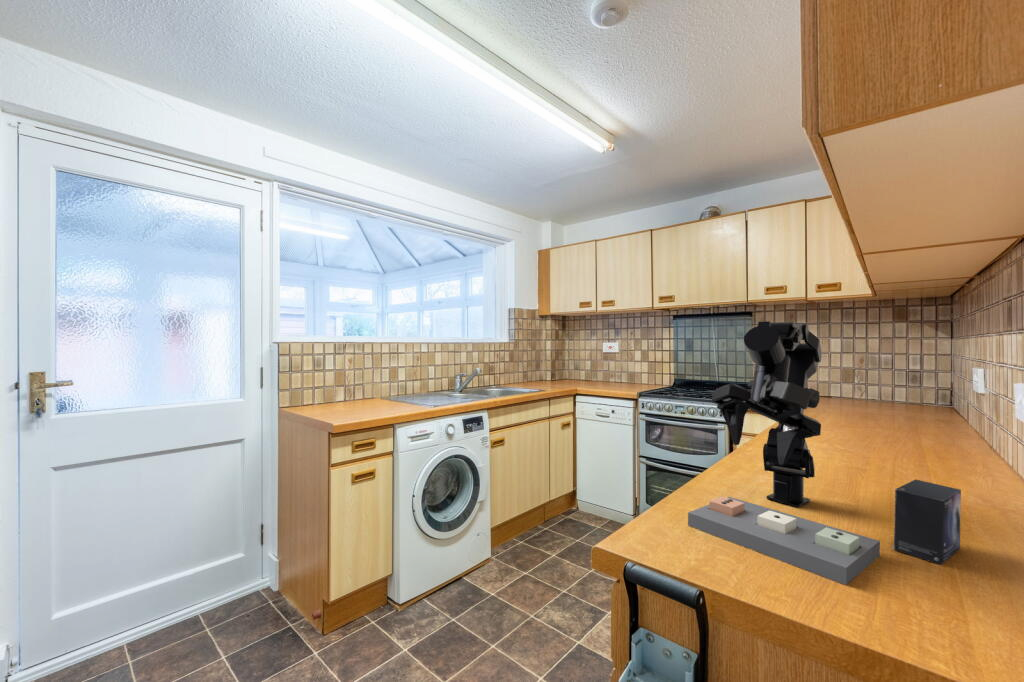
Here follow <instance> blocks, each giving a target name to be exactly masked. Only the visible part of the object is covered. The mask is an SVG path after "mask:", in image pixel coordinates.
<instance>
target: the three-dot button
mask: <svg viewBox="0 0 1024 682" xmlns="http://www.w3.org/2000/svg"><path fill="white" fill-rule="evenodd" d="M708 505H709V509H710V510H713V511H717V512H720V513H723V514H726V515H729V516H732V517H734V516H736V515H739V514H741V513H743V512H744V503H743V502H739V501H736V500H733V499H729V498H727V497H726V496H718V497H717V498H713V499H711V500H709V504H708Z"/></svg>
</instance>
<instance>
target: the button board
mask: <svg viewBox="0 0 1024 682" xmlns="http://www.w3.org/2000/svg"><path fill="white" fill-rule="evenodd" d="M726 498H729V499H733V500H736V501H739V502H743V503H744V512H743V513H741V514H739V515H736V516H734V517H732V516H729V515H726V514H723V513H720V512H717V511H713V510H710V509H709V504H707V505H704V506H701V507H699V508H696V509H693V510H690V511H689V512H687V527H691V528H693V529H696V530H698V531H701V532H704V533H706V532H707V534H709V535H712V536H715V537H717V536H718V537H717V538H719V539H723V540H725V541H727V540H728V541H727V542H730V541H731V542H730V543H733V542H734V543H733V544H735V543H736V545H739V546H742V547H743V546H744V547H743V548H746V547H747V548H746V549H749V550H751V549H752V551H754V550H755V551H754V552H757V553H759V552H760V554H762V555H765V556H768V557H771V558H773V559H775V560H778V561H781V562H783V563H786V564H789V565H792V566H794V567H797V568H800V569H802V570H804V571H807V572H809V573H813V574H815V575H818V576H820V577H823V578H825V579H828V580H831V581H834V582H836V583H839V584H842V585H845V586H847V585H848V584H849V583H851V582H852V581H853V580H854V579H855V578H856V577H857V576H858V575H860V574H861V573H862V572H863V571H865V570H866V569H867V568H868V567H869V566H870V565H871V564H872V563H874V562H875V561H876V560H877V559H878V558H880V556H881V553H880V552H881V549H880V548H881V547H880V546H881V545H880V544H881V543H880V542H881V541H880V540H877V539H875V538H871V537H869V536H865V535H863V534H862V535H861V534H859V533H858V534H857V533H855V532H851V531H848V530H844V529H841V528H838V527H835V526H831V525H827V524H824V523H820V522H818V521H817V522H816V521H814V520H810V519H806V518H803V517H800V516H797V515H792V514H789V513H786V512H783V511H779V510H777V509H772V508H768V507H765V506H762V505H759V504H755V503H751V502H748V501H746V500H745V501H744V500H742V499H738V498H735V497H733V496H728V497H726ZM769 510H770V511H773V512H777V513H780V514H783V515H787V516H790V517H793V518H796V529H795V530H793V531H791V532H789V533H788V534H783V533H780V532H777V531H774V530H771V529H768V528H765V527H762V526H759V525H757V516H758V515H760V514H763V513H765V512H767V511H769ZM826 527H827V528H830V529H834V530H837V531H841V532H844V533H847V534H851V535H854V536H857V537H859V550H857V551H856V552H855V553H853V554H852V555H851V556H850V555H847V554H844V553H841V552H838V551H835V550H832V549H829V548H826V547H823V546H820V545H817V544H815V534H816V533H818V532H819V531H821V530H823V529H824V528H826Z"/></svg>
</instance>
